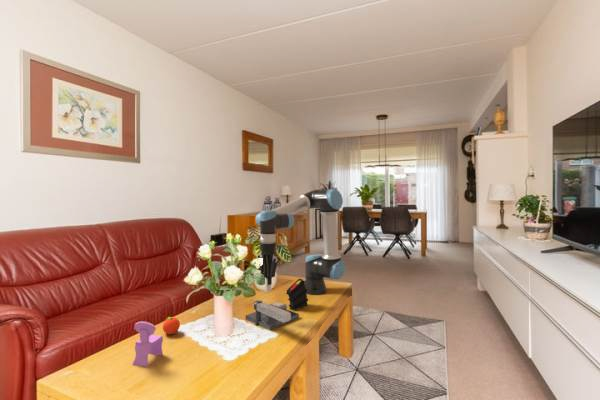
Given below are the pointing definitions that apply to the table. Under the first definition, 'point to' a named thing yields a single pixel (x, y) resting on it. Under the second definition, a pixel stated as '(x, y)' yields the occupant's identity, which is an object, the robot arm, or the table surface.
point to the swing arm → (272, 311)
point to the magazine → (297, 295)
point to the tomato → (171, 325)
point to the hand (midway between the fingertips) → (267, 290)
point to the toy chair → (146, 343)
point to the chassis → (269, 321)
